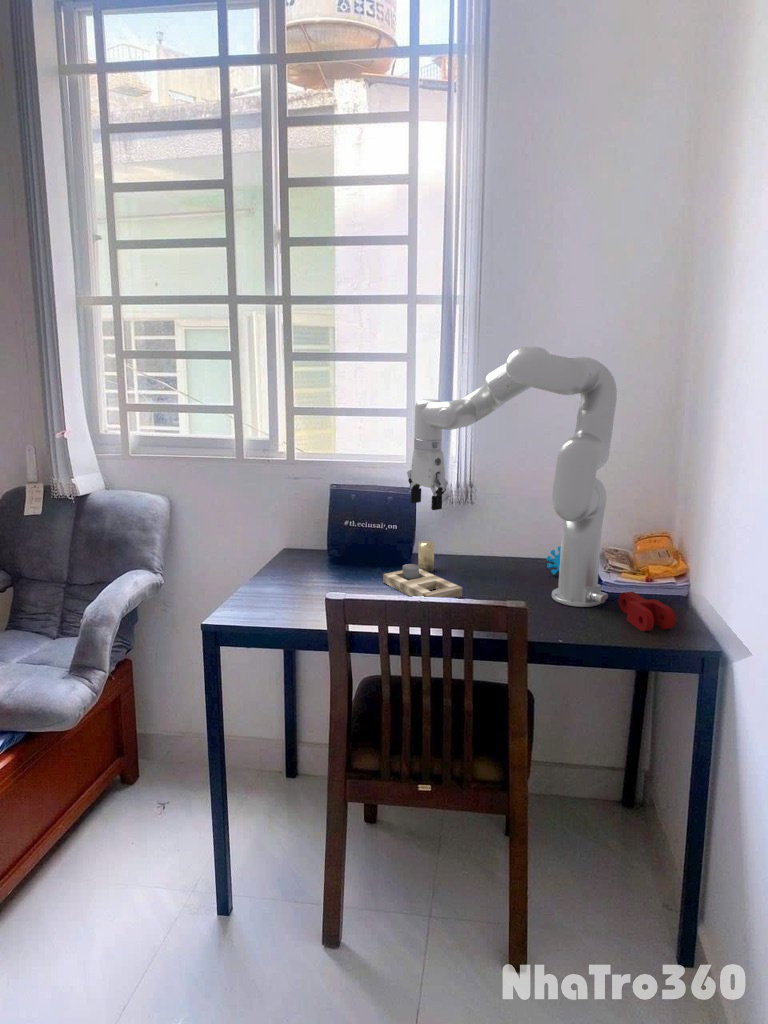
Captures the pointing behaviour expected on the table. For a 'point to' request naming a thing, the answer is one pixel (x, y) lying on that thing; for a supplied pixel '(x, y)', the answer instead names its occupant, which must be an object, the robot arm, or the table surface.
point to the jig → (421, 583)
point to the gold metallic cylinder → (426, 555)
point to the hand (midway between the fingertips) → (426, 505)
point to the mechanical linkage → (646, 612)
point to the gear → (554, 561)
